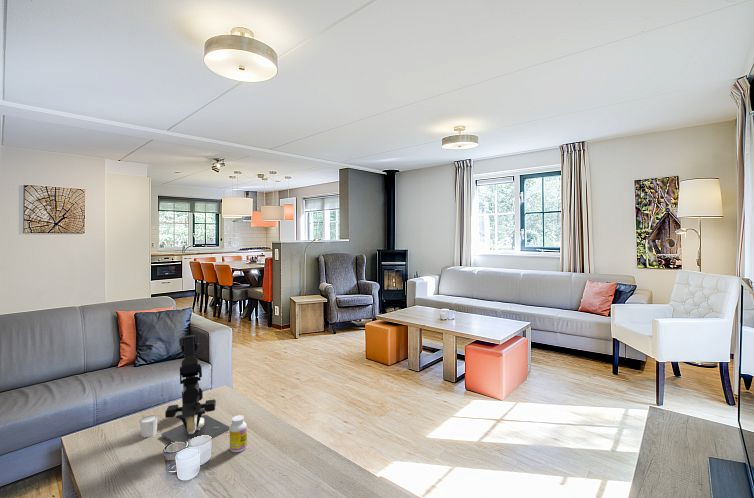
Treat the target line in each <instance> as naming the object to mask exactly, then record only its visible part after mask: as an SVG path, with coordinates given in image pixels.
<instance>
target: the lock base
mask: <svg viewBox="0 0 754 498" xmlns="http://www.w3.org/2000/svg"><path fill="white" fill-rule="evenodd" d="M201 417H202V418H204V426H203V427H201V428H199V429H196V430H195V432H194V433H193V434H189V433H188V432H187V429H186V428H185V426H184V424H183V423H182V424H179V425H177V426H176V427H174V428H171V429H169V430H166V431H164V432H162V433H161V438H163V439H164V440H165V441H168V442H169V443H170V444H172V443H171V442H175V441H187V442H189V441H190V440H191V439H192V438H194V437H197V436H201V435H209V436H211V437H212V439H214V438H217V437H218V436H220V435H223V434H224V433H226V432H228V431H229V428H230V425H227V424H226V423H223V422H221V421H218V419H215V418H214V417H211V416H209V415H208V414H202V416H201Z"/></svg>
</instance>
